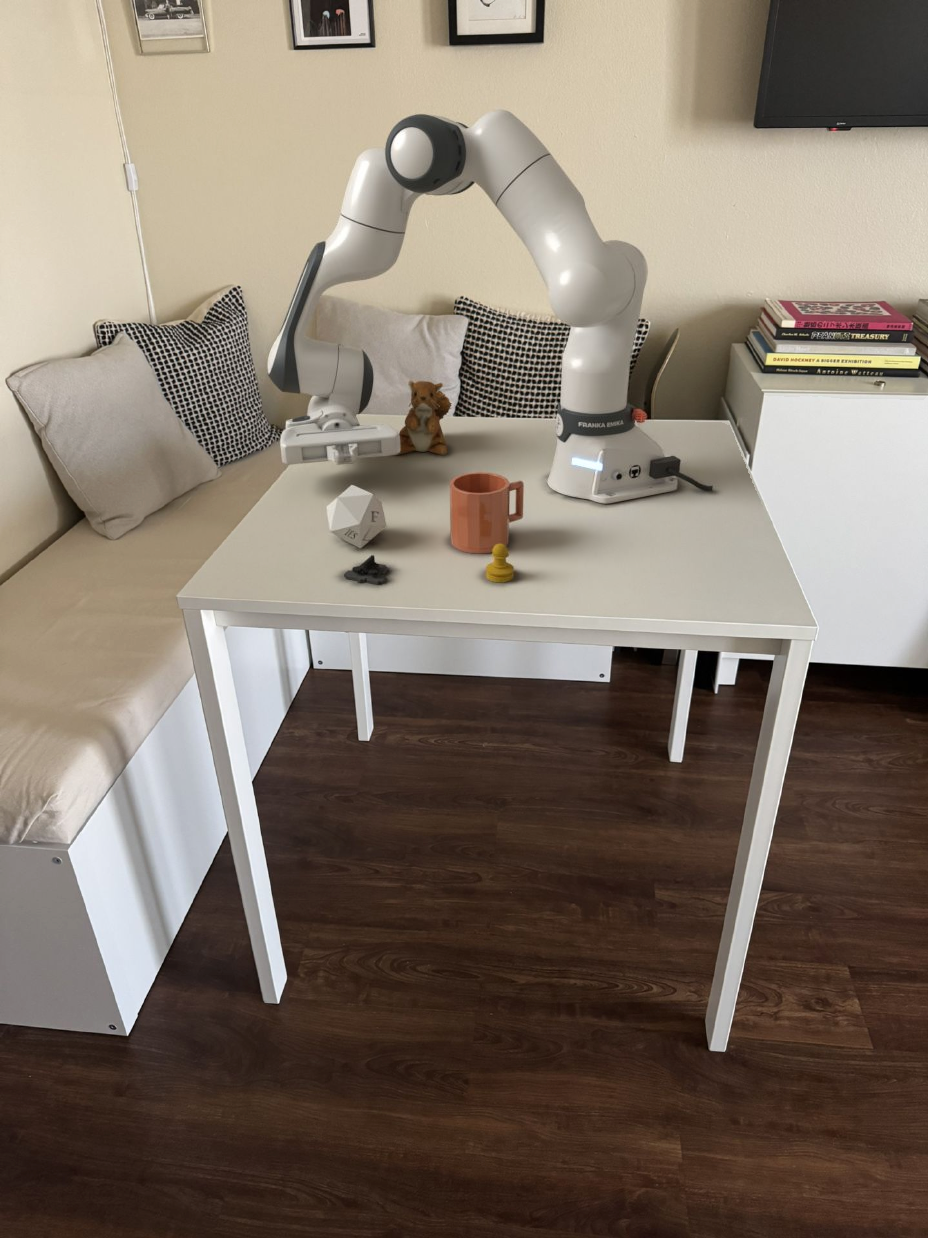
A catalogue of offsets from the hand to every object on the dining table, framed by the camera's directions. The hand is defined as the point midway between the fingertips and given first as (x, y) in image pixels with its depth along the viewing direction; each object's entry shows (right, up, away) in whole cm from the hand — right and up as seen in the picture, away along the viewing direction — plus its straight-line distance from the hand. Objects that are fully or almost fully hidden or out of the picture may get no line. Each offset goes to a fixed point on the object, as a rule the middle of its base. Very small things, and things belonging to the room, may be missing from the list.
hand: (345, 459), depth 147 cm
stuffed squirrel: (+12, +8, +29) cm, 32 cm away
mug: (+23, -14, -8) cm, 28 cm away
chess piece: (+25, -20, -19) cm, 37 cm away
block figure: (+6, -20, -18) cm, 28 cm away
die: (+3, -14, -8) cm, 17 cm away
